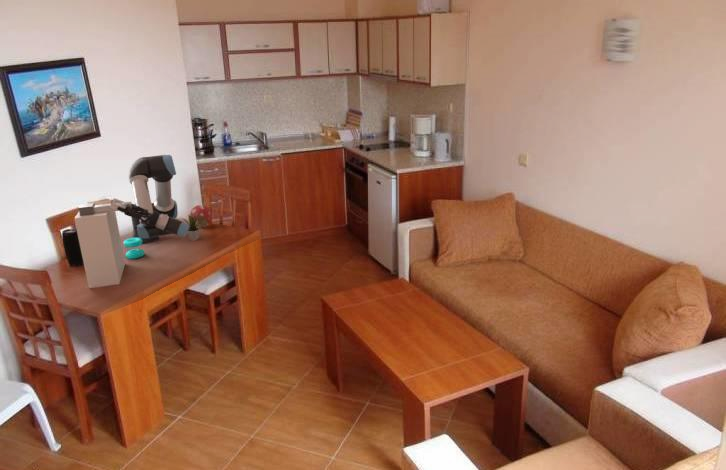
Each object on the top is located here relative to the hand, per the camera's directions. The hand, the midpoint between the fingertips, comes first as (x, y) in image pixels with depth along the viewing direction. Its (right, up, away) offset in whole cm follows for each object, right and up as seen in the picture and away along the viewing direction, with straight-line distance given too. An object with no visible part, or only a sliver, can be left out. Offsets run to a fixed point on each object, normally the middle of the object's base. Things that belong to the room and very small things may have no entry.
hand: (111, 202), depth 275 cm
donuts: (-6, -28, +43) cm, 52 cm away
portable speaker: (-35, -32, +35) cm, 59 cm away
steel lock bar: (-2, -4, +1) cm, 5 cm away
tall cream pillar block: (-10, -37, +17) cm, 42 cm away
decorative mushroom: (+18, -11, +91) cm, 93 cm away
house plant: (+21, -19, +68) cm, 74 cm away
